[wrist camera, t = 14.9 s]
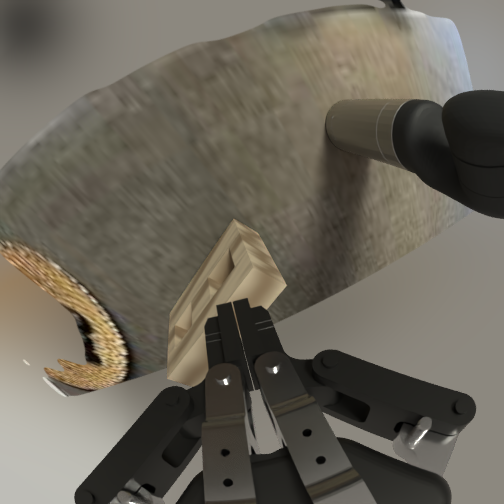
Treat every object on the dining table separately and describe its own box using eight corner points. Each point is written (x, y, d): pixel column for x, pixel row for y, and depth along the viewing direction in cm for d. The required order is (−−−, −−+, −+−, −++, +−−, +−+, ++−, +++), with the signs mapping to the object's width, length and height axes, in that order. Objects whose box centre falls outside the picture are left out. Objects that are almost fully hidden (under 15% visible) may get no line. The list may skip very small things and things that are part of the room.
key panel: (169, 312, 51) (167, 378, 37) (233, 218, 45) (253, 267, 31) (192, 322, 53) (196, 387, 39) (258, 233, 47) (286, 285, 33)
